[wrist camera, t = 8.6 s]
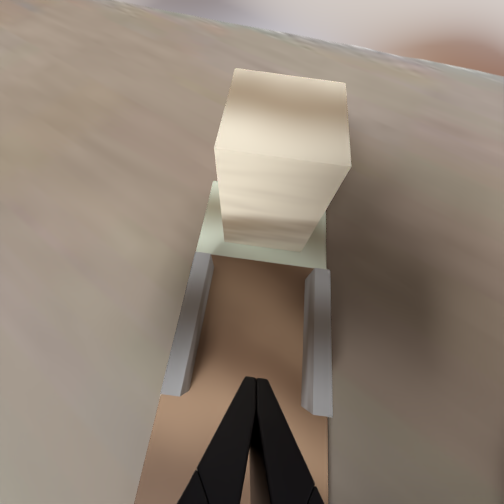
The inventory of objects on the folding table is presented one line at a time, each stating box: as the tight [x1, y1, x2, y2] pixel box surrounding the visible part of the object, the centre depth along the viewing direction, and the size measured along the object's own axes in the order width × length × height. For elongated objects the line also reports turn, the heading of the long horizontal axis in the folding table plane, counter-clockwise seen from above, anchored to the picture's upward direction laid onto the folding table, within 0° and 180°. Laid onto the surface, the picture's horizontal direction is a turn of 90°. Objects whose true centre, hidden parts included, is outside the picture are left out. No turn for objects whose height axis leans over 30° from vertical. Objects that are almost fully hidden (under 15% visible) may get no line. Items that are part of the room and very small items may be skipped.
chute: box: [134, 181, 333, 504], centre depth 16 cm, size 22×10×3 cm, turn 173°
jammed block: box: [214, 68, 351, 252], centre depth 16 cm, size 6×6×9 cm
